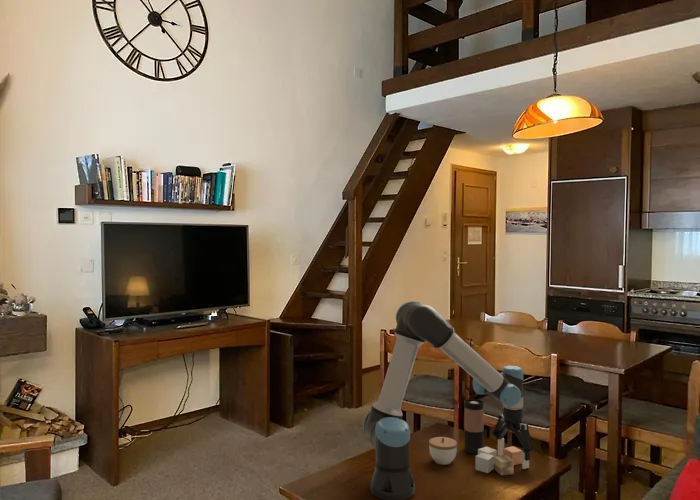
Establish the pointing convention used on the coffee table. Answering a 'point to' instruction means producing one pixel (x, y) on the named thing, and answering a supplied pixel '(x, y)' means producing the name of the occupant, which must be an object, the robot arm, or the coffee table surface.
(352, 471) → the coffee table surface
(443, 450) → the lidded jar
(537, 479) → the coffee table surface
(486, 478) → the coffee table surface
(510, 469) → the cube maple
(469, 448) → the travel mug
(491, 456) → the cube grey
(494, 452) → the cube cream
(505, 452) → the cube terracotta
